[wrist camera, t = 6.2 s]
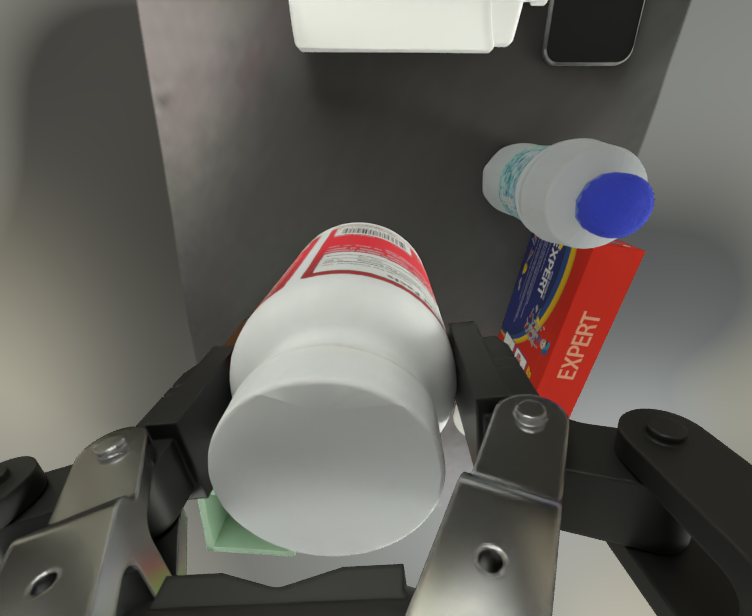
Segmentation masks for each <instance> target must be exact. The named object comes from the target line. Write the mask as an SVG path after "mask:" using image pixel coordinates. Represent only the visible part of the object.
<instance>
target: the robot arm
mask: <svg viewBox="0 0 752 616" xmlns="http://www.w3.org/2000/svg"><path fill="white" fill-rule="evenodd" d="M448 338H449V341H450V343H451V346H452V350H453V355H454V359H455V365H456V374H457V390H456V396H455V400H456V403H457V407H458V411H459V414H460V418H461V422H462V425H463V429H464V433H465V437H466V440H467V444H468V448H469V451H470V455H471V459H472V462H473V466H474V467H473V470H472V472H471V473H467V472H463V473H462V474H461V475H460V477H459V479H458V481H457V484H456V486H455V489H454V491H453V494H452V496H451V499H450V502H449V504H448V507H447V509H446V512H445V514H444V517H443V520H442V522H441V525H440V527H439V530H438V532H437V535H436V538H435V540H434V543H433V545H432V548H431V550H430V553H429V556H428V558H427V561H426V563H425V566H424V568H423V571H422V574H421V576H420V579H419V582H418V584H417V586H416V588H413V587H409V586H407V585H406V578H405V571H404V565H403V564H393V565H374V566H356V567H342V568H339V569H336V570H332V571H329V572H326V573H323V574H320V575H317V576H314V577H311V578H308V579H305V580H302V581H299V582H296V583H293V584H289V585H286V586H283V587H270V586H266V585H263V584H259V583H256V582H252V581H248V580H245V579H241V578H238V577H234V576H230V575H227V574H223V573H218V574H197V575H186V570H187V516H186V513H185V511H184V509H183V507H184V505H185V503H186V501H187V500H191V499H205V498H209V496H210V494H211V492H212V490H213V486H212V484H211V481H210V477H209V472H208V451H209V446H210V442H211V439H212V436H213V433H214V431H215V429H216V427H217V425H218V423H219V421H220V420H221V418H222V416H223V415H224V413H225V411H226V409H227V408H228V406H229V404H230V402H231V400H232V394H231V388H230V364H231V357H232V353H233V350H234V346H235V345H225V346H216V347H213V348H212V349H211V350H210V352H209V353H208V354H207V355H206V356H205V357H204V358H203V360H202V361H201V362H200V363H199V364H197V365H196V366H194V367H193V368H191V369H190V370H188V371H187V372H186V373H184V374H183V375H182V376H181V377H180V378H179V379H178V380H177V381H176V382H175V384H174V385H173V388H170V389H169V390H168V391H167V392H166V393H165V395H164V397H162V398H161V399H160V400H159V401H158V402H157V403H156V405H155V406H154V407H153V408H152V409H151V410H150V411H149V412H148V414H146V416H145V417H144V418H143V419H142V420H141V421H140V422H139V423H138V424H137V425H136V427H127V428H122V429H119V430H116V431H113V432H111V433H109V434H107V435H104V436H103V437H101V438H99V439H97V440H96V441H94V442H93V443H92V444H90V445H89V446H88V447H86V448H85V449H84V450H83V451H82V452H81V453H80V454H79V455H78V457H77V458H76V459H75V461H74V464H72V465H69V466H66V467H62V468H59V469H56V470H52V471H49V472H45V473H44V472H43V470H42V469H41V467H40V465H39V464H38V463H37V461H36V459H34V458H33V457H29V456H24V457H17V458H13V459H10V460H7V461H4V462H1V463H0V616H552V611H553V601H554V590H555V579H556V568H557V557H558V546H559V536H560V530H562V531H566V532H570V533H574V534H579V535H583V536H587V537H591V538H595V539H599V540H603V541H606V542H607V544H608V545H609V547H610V548H611V550H612V551H613V553H614V554H615V555H616V557H617V558H618V560H619V561H620V563H621V564H622V566H623V567H624V568H625V570H626V571H627V573H628V574H629V576H630V577H631V579H632V580H633V582H634V583H635V584H636V586H637V587H638V589H639V590H640V592H641V593H642V595H643V596H644V598H645V599H646V601H647V602H648V603H649V605H650V606H651V608H652V609H653V611H654V612H655V614H656V615H657V616H752V465H751V464H750V463H748V462H747V461H746V460H744V459H743V458H742V457H740V456H739V455H738V454H736V453H735V452H734V451H732V450H731V449H729V448H728V447H727V446H726V445H724V444H723V443H722V442H720V441H719V440H718V439H716V438H715V437H714V436H712V435H711V434H710V433H708V432H707V431H706V430H704V429H703V428H702V427H700V426H699V425H697V424H696V423H694V422H692V421H690V420H688V419H686V418H684V417H682V416H679V415H676V414H673V413H670V412H666V411H662V410H656V409H635V410H631V411H629V412H626V413H625V414H623V415H622V416H621V417H620V419H619V423H618V428H613V427H606V426H599V425H591V424H585V423H580V422H576V421H573V420H570V419H569V418H568V415H567V413H566V412H565V411H564V410H563V408H562V407H560V406H559V405H558V404H556V403H555V402H553V401H551V400H549V399H547V398H544V397H541V396H539V394H538V392H537V391H536V389H535V388H534V386H533V384H532V383H531V381H530V380H529V378H528V376H527V375H526V373H525V371H524V370H523V368H522V367H521V366H520V363H519V362H518V360H517V358H516V357H514V354H513V352H512V350H511V349H510V347H509V345H508V344H507V343H505V342H503V341H502V340H500V339H499V338H497V337H496V336H489V337H482V336H481V334H480V332H479V330H478V328H477V326H476V324H475V322H474V321H471V322H461V323H451V324H448Z"/></svg>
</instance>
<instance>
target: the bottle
mask: <svg viewBox="0 0 752 616" xmlns="http://www.w3.org/2000/svg"><path fill="white" fill-rule="evenodd" d="M647 179H648V178H647V175H646V171H645V168H644V167H643V165H642V163H641V162H640V160H639V159H638V158H637V157H636V156H635V155H634V154H633V153H631V152H630V151H628V150H626V149H624V148H621V147H618V146H614V145H610V144H607V143H603V142H601V141H598V140H594V139H588V138H580V139H573V140H566V141H562V142H558V143H555V144H553V145H549V146H540V145H535V144H530V143H519V144H513V145H509V146H506V147H504V148H502V149H500V150H499V151H498V152H497V153H496V154H495V155H494V156H493V157H492V158H491V160H490V161H489V162H488V163H487V165H486V166H485V168H484V170H483V194H484V196H485V198H486V199H487V200H488V202H489V203H490V204H491V205H492V206H493V207H494V208H496V209H497V210H499V211H501V212H503V213H505V214H509V215H512V216H514V217H516V218H518V219H519V220H521V221H522V222H523V224H524V225H525V227H527V228H528V229H529V230H530V231H531V232H533V233H534V234H535V235H536V236H537V237H539V238H541V239H543V240H545V241H547V242H550V243H556V244H561V245H565V246H569V247H573V248H581V249H588V248H595V247H599V246H602V245H605V244H607V243H609V242H611V241H613V240H615V239H617V238H621V237H625V236H628V235H630V234H632V233H633V232H635V231H637V229H639V228H641V227H642V225H643V224H644V223H645V222H646V221H647V219H648V218H649V216H650V215H651V212H652V210H653V206H654V200H655V199H654V193H653V190H652V188H651V186H650V185H649V183H648V180H647Z"/></svg>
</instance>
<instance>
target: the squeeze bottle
mask: <svg viewBox="0 0 752 616" xmlns="http://www.w3.org/2000/svg"><path fill="white" fill-rule="evenodd" d="M547 1H548V0H289V7H290V15H291V22H292V28H293V35H294V40H295V44H296V46H297V47H298V48H299V49H300V50H301V51H302V52H407V53H414V52H419V53H489V52H490V51H491V50H493V48H494V47H507V46H508V45H509V44H510V43H511V42H512V41H513V38H514V35H515V32H516V28H517V24H518V21H519V17H520V13H521V9H522V6H523V2H530V5H531V6H544V5H545V4H546V3H547Z"/></svg>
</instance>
